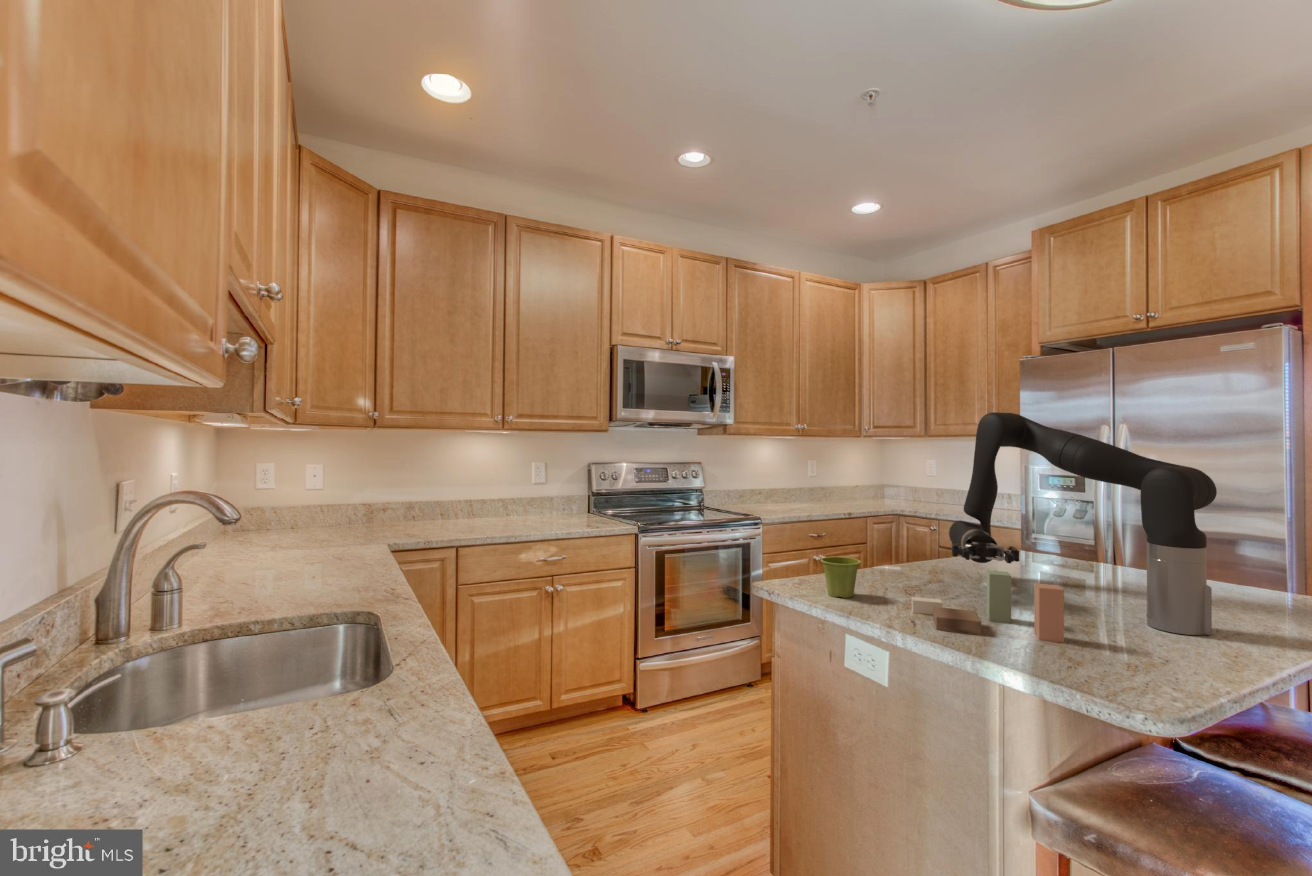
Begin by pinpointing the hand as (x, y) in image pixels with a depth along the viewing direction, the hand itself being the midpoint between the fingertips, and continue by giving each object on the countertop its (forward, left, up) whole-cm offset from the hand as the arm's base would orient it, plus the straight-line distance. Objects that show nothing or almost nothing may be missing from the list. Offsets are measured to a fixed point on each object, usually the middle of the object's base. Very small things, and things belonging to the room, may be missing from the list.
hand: (988, 557), depth 137 cm
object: (+33, +3, -12) cm, 35 cm away
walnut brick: (+9, +20, -12) cm, 25 cm away
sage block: (0, +11, -11) cm, 16 cm away
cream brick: (+14, +11, -12) cm, 21 cm away
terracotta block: (-7, +21, -11) cm, 25 cm away
